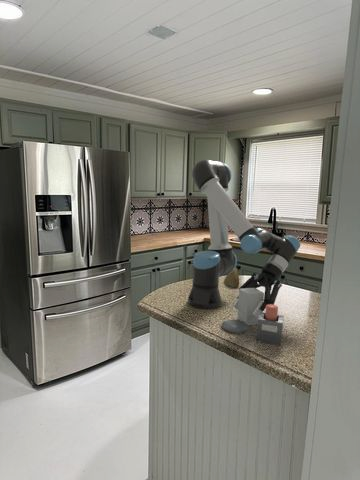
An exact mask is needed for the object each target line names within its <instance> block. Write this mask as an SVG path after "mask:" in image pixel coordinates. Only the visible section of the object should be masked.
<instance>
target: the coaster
mask: <svg viewBox="0 0 360 480" xmlns="http://www.w3.org/2000/svg"><path fill="white" fill-rule="evenodd" d="M249 326H250V325H247V324H246V323H244V322H242V321H240V320H239V319H228V320H223V322H221V329H222V328H223V329H224V330H223V329H222V330H223V331H224V332H227V331H228V332H227V333H229V332H231V333H230V334H234V333H239V334H240V333H242V334H246V333H247V332H248V331H249ZM239 334H238V335H239ZM240 335H241V334H240Z"/></svg>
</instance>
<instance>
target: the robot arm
mask: <svg viewBox="0 0 360 480" xmlns="http://www.w3.org/2000/svg"><path fill="white" fill-rule="evenodd" d="M191 177H192V180H193V183H194V184H195V187H196V188H197V189H198V190H199V191H200V193H201V194H205V195H206V198H207V211H208V222H209V223H208V225H209V238H210V241H209V242H210V245H209V246H208V248H207V250H202V251H198V252H196V253H195V254H194V255H193V261H192V266H193V267H192V286H191V290H190V292H189V294H188V298H187V304H188V305H189V306H190V307H192V308H195V309H198V310H199V309H200V310H215V309H218V308H220V307H221V306H222V297H221V293H220V290H219V281H220V280H219V279H220V278H221V277H223V276H227V275H228V274H229V273H230V272H232V271H233V270H234V269H235V267H236V268H237V264H238V258H237V255H236V254H235V252H234V251H233V246H232V245H231V244H230V243H229V228H228V226H229V227H230V229H231V230H232V231H233V233H234V234H235V235H236V237H237V238H238V239H239V241H240V242H239V245H240V249H241V250H242V252H244V253H245V254H247V255H248V254H250V255H251V254H257V253H259V252H261V251H264V250H266V251H268V252H269V253H272V255H270V256H271V257H270V258H269V259H268V260H267V262H266V263H265V265H264V266H263V268H261V269H262V270H261V273H260V274H256V272H253V273H252V275H251V276H250V277H249V278H248V279H247V280H246V281H245V282H244V283H243V284H242V285H241V286H239V287H238V290H239V289H243V288H256V289H258V288H260V287H263V288H264V301H262V300H261V302H260V303H259V305H258V306H257V308H256V309H255V311H254V312H253V316H254V317H255V318H258V316H259V315H260V312H262V311H263V312H264V311H266V305H268V304H272V305H275V302H276V300H277V297H278V294H279V291H280V289H281V287H282V286H283V284H282V283H281V281H280V280H279V279H280V278H281V276H282V275H283V273H284V272H285V271H286V269H287V268H288V266H289V264H290V263H291V262H292V260H293V258H294V257H295V256H296V254H297V253H298V251H299V249H300V248H301V242H300V240H299V239H298V238H296V237H295V236H293V235H290V234H289V235H288V234H287V235H286V236H284V237H280V236H278V235H276V234H274V233H272V232H270V231H268V230H267V229H264V228H262V227H258V228H255V226H253V224H252V223H251V221H249V220H248V218H247V216H245V214H244V213H243V212H242V211H241V209H240V208H239V206H238V205H237V204H236V203H235V201H234V200H233V198H232V197H231V196H230V195H229V193H227V191H228V190H229V184H230V182H231V180H232V171H231V169H230V167H229V166H228V165H227V164H226V163H224V162H222V161H216V160H210V159H201V160H199V161H197V162H196V163H195V164H194V166H193V168H192V170H191ZM272 286H273V287H272ZM238 301H239V295H238V296H237V297H236V300H235V302H234V304H233V307H234V308H235V309H236V310H237V311H238Z"/></svg>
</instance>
